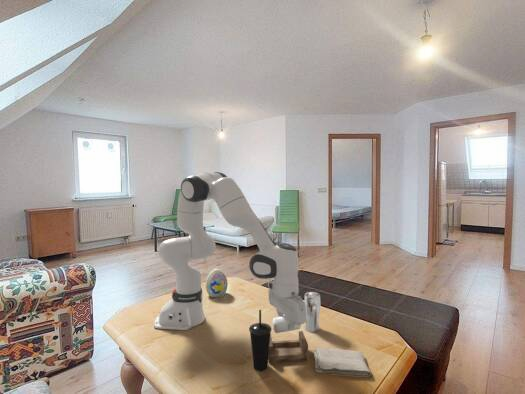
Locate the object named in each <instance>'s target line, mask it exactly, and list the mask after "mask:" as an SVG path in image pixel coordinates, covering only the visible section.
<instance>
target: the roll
mask: <svg viewBox="0 0 525 394" xmlns="http://www.w3.org/2000/svg"><path fill="white" fill-rule="evenodd" d="M290 323H291V322H290V319H289V318H288V317H286V316H285V315H283V316H281V317H278V316H277V317H276V316H275V317H273V318H272V327H273V331H274V333H275V334H280V333H286V332H292V331H291V330H290V329H289V324H290ZM301 327H302V324H300V325H297V324H295V330H294V331H296V330H300V329H301Z"/></svg>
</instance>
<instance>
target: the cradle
mask: <svg viewBox="0 0 525 394" xmlns="http://www.w3.org/2000/svg"><path fill="white" fill-rule="evenodd" d="M308 344H309V343H308V341H307V339H306V336H305V333H304V331H302V330H300V331H298V339H297V340H296V339H292V340H275V341H274V340H272V333H271V332H270V343H269V355H268V364H274V363H275V364H276V363H279V364H280V363H294V362H295V363H296V362H297V363H298V362H308V361H309V345H308Z"/></svg>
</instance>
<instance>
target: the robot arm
mask: <svg viewBox="0 0 525 394" xmlns="http://www.w3.org/2000/svg"><path fill="white" fill-rule="evenodd" d="M208 200H213V201H215V203H216V205H217V207H218V209H219V211H220V213H221V216H222V217H223V219H224V220H225V221H226V222H227V223H228V224H229V225H230V226H233V227H237V228H240V229H243V230H245V231H246V232H248V234H249V235H250V236H251V238H252V239H253V241H254V242H255V244H256V245H257V247H258V249H259V251H258V252H257V253H254V255H252V256H251V258H250V260H249V263H248V264H249V265H248V266H249V270H250V272H251V274H252V275H253V276H254V277H255V278H257V279H263V280H264V279H273V280H271V281H268V282H267V286H268V302H269V304H270V305H271V306H273V307H274V309H276V314H277V317H281V316H286V317H288V318H289V319H290V322H291V323H290V324H289V329H290V330H291V331H290V332H293V331H296V330H295V324H297V325H300V324H301V325H304V324H306V307H305V303H304V299H303V298H302V296H300V295H299V275H298V273H299V255H298V251H297V248H296V247H295V246H293V245H292V244H289V243H285V242H284V243H283V242H282V243H281V242H280V243H277V244H276V243H275V242H274V240H272V237H271V236H270V234H269V233H268V231H267V230H266V228H265V227H264V225H263V223H262V222H261V220H260V219H259V218H258V216H257V214H255V212H254V211H253V209H252V207H251V205H250V203H249V202H248V200H247V198H246V197H245V194H244V192H243V191H242V190H241V188H240V186H239V185H238V184H237V183H236V180H234V179H233V178H232V177H228V176H227V175H226V174H225V173H223V172H219V171H218V172H217V171H215V172H202V173H199V174H195V175H194V174H192V175H188V176H187V177H185V178H184V179H183V180H182V181H181V184H180V192H179V195H178V202H177V214H176V225H177V227H178V228H179V229H180V230H181V231H183V232H185V233H188V234H189V235H188V236H181V237H172V238H168V239H166V240H163V241H162V242H160V244H159V247H158V251H157V252H158V257H159V259H160V260H161V261H162V262H163V263H165V264H167V266H169V267H170V268H171V270H172V271H173V273H174V277H175V284H176V285H175V287H174V288H173V290H172V293H171V299H170V300H168V301H167V302H166V303H165V304H164V305H163V306H162V307H161V309H160V312H159V314H158V315H157V316H156V318H155V319H154V322H153V328H155V329H157V330H158V329H163V330H173V331H175V330H176V331H177V330H178V331H187V330H190V329H191V328H192V327H196V326H199V325H200V324H202V323H203V322H204V321H205V319H206V316H205V312H204V309H203V289H202V274H201V272H200V270H199V269H197V268H196V267H192V266H191V265H189V261H197V260H201V259H206V258H208V257H211V256H213V255H214V253H215V251H216V241H215V239H214V238H213V237H212V236H211V235H209V234H208V233H207V231H206V230H205V227H204V206H205V201H208Z"/></svg>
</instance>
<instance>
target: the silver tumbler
mask: <svg viewBox="0 0 525 394" xmlns="http://www.w3.org/2000/svg"><path fill="white" fill-rule="evenodd" d="M303 301H304V303H305V307H306V322H305V326H304V329H305V330H306V331H308V332H310V333H317V332H319V331H320V324H319V318H320V314H321V313H320V312H321V295H320V293H318V292H316V291H307V292H305V293H304V299H303Z"/></svg>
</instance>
